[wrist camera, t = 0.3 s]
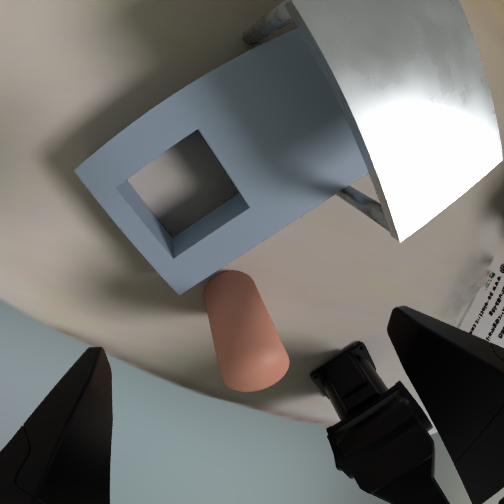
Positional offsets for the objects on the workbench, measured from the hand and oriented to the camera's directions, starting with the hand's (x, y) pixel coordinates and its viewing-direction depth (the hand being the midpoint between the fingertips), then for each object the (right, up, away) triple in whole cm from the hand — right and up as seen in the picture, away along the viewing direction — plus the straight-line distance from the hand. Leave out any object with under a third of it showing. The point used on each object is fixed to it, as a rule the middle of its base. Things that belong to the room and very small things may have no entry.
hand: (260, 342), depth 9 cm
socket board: (0, +10, +11) cm, 14 cm away
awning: (+6, +14, +10) cm, 18 cm away
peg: (-2, -1, +15) cm, 16 cm away
